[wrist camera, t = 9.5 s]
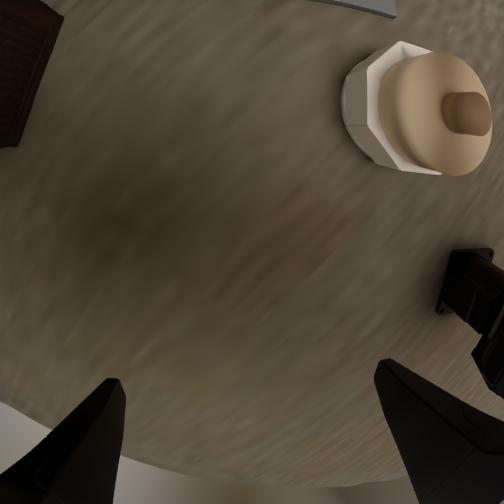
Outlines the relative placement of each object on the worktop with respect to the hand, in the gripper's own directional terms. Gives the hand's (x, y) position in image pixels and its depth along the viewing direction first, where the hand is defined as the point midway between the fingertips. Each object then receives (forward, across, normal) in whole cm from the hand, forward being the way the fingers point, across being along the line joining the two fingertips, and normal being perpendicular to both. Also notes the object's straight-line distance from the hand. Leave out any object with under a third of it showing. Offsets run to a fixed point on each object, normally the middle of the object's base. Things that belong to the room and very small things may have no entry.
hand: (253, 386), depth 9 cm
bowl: (+12, -11, -10) cm, 19 cm away
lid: (+8, -11, -10) cm, 17 cm away
